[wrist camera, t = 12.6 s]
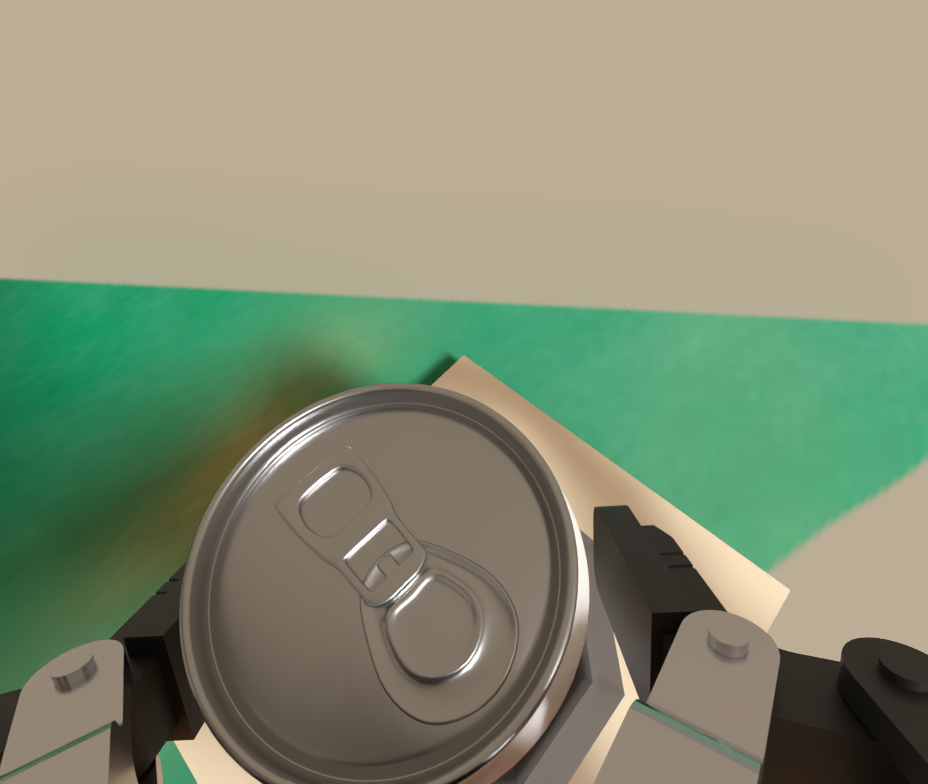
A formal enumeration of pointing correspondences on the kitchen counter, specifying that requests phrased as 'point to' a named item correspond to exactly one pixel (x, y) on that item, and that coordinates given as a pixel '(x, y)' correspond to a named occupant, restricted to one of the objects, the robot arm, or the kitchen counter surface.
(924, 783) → the robot arm
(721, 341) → the kitchen counter surface
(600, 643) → the hub socket
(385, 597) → the can
